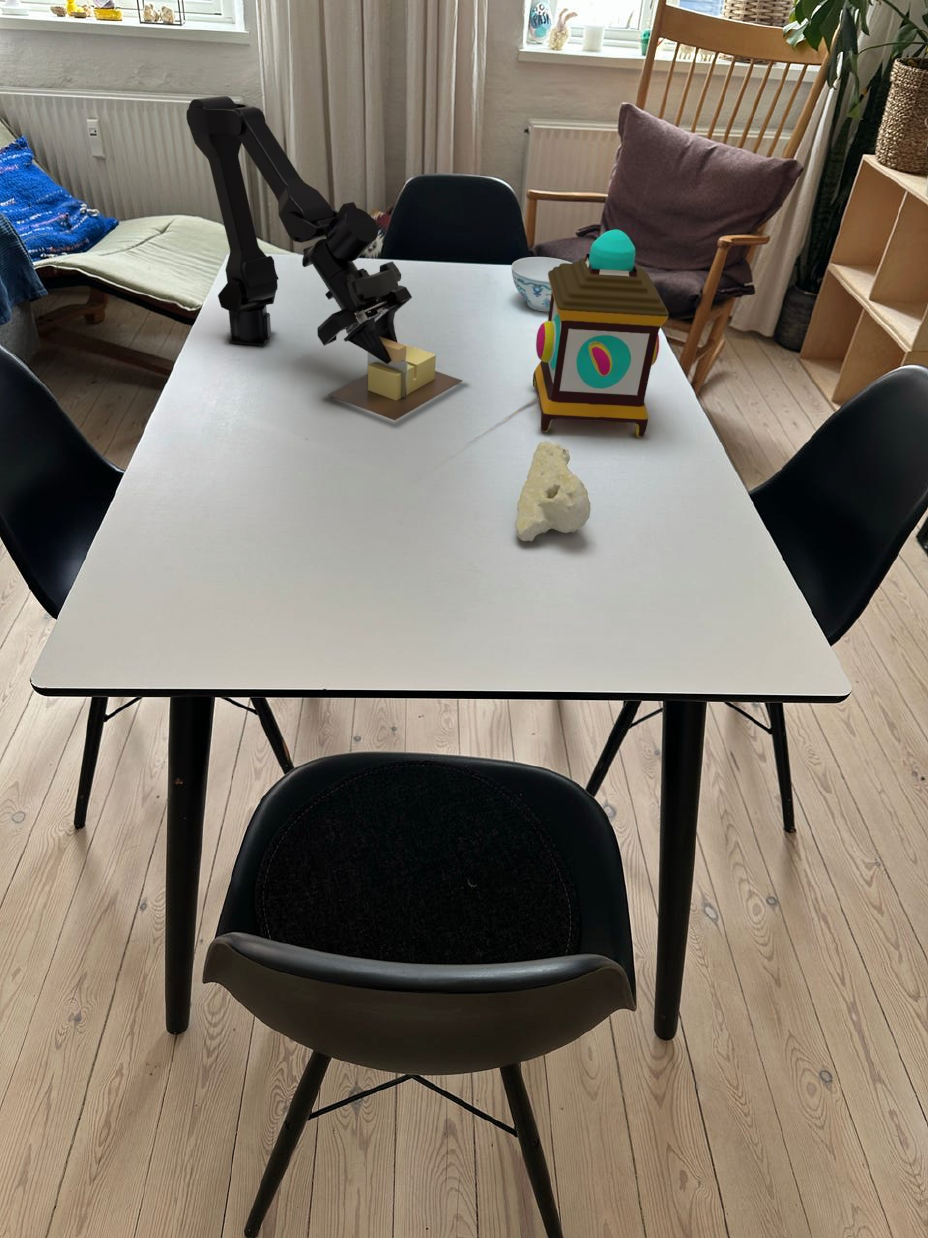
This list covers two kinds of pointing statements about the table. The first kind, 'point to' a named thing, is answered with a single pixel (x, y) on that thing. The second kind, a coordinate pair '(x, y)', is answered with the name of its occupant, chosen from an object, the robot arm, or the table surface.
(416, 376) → the butter block
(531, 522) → the cream rough rock
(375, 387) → the butter slice
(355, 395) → the board
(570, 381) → the decorative lantern
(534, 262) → the chinaware
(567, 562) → the table surface
